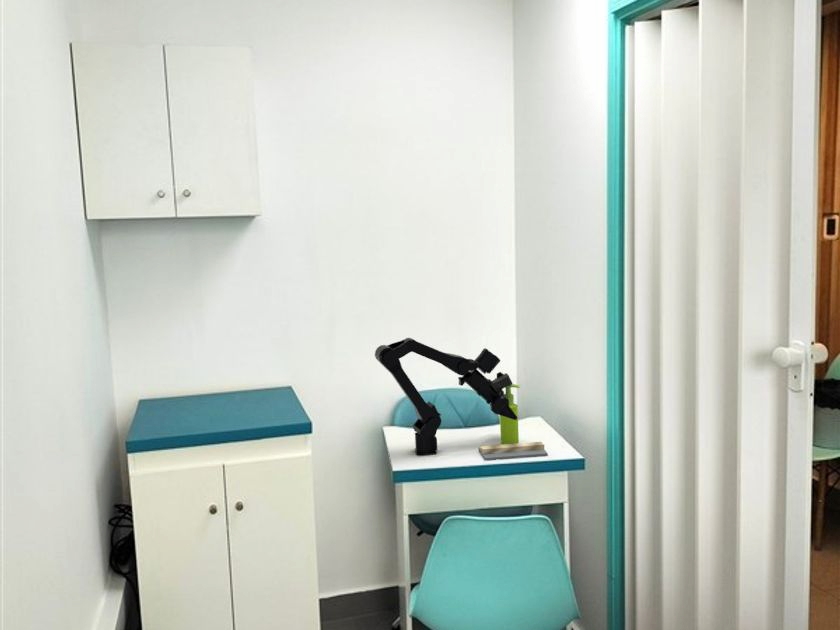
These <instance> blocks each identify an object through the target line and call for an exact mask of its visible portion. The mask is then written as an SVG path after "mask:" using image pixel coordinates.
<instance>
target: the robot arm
mask: <svg viewBox="0 0 840 630" xmlns="http://www.w3.org/2000/svg"><path fill="white" fill-rule="evenodd" d="M409 353H414V354H417V355H420V356H422V357H424V358H427V359H429V360H431V361H434V362H437V363H439V364H441V365H443V366H444V367H445V368H447V369H448V370H450V371H451V372H453V373H455V374H457V375H459V377H458V378H457V379H458V385H460V387H461V386H464V385H465V384H467V386H469V388H471V389H472V390H473V391H474V392H475V393H476V395H478V396H479V397H481V398H482V399H483V400H484V401H485V402H486V404H487V405H489V409H490V411H491V412H493V414H495V415H498V416H500V415H501V416H505V417H508V418H511V419H514V420H516V419H517V418H518V419H519V416H518V417H517V416H516V415H515V413H514V412H513V411H512V409H511V408H510V407H509V400H508V398H507V397H506V396H505V395H504V394H505V392H504V390H503V389H506V388H505V387H507V386H510V385H512V384H514V383H513V382H512V379H511V377H510V375H509V374H508V373H506V372H505V373H503V372H502V371H499V372H497V373H496V377H495V378H494V379H493V380H491V379H490V378H487V377H486V376H485V375H486V374H491V373H492V372H493V371H494V370H495V368H496V367H497V366H498V365H499V363H500V362H501V359H500V358H499V357H498V356H497V355H495V354H494V353H493V352H491V351H490V350H489V349H488V348H485V347H484V348H483V349H482V350H481V352H480V353H479V354H478V355H477V356H476V358H475V359H471V358H466V357H465V356H464V357H463V356H461V355H458V354H454V353H447V352H443V351H442V350H441V351H440V350H439V349H436V348H434V347H431V346H429V345H426V344H424V343H422V342H419V341H417V340H415V339H414V338H412V337H406V338H405V339H402V340H399V341H396V342H393V343H389V344H387V345H386V344H382V345H379V346H378V347H377V348H376V349H375V352H374V357H375V359H376V360H377V361H378V362H379V363H380V365H381V366H383V368H384V369H385V370H387V372H388V373H390V374H391V376H392V377H393V379H394V380H395V381H396V383H397V384H398V386H399V387H400V389H401V390H402V392H403V393H404V395H405V396H406V397H407V398H408V400H409V402H410V403H411V405H412V406H413V408H414V411H415V414H416V416H417V417H416V418H417V420H416V421H415V422H414V423H413V424H412V428H413V430H414V444H415V448H414V451H415V455H417V456H423V455H437V453H438V452H437V451H438V438H437V436H436V434H437V432H438V429H439V428H440V426H441V424H442V418H441V416H442V414H441V413H440V412H439V411H438V409H437V408H436V405H435V404H433V403H432V402H431V401H428V402H426V401H425V400H424V398H423V397H422V395H421V394H420V392H419V390H417V388H416V386H415V385H414V383H413V382H412V380H411V379H410V377H409V376H408V375H407V373H406V372H405V370H404V369H403V366H402V363H401V361H400V359H401V358H404V357H405V356H407V355H408V354H409ZM482 373H483V374H482Z"/></svg>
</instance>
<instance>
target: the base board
mask: <svg viewBox="0 0 840 630" xmlns="http://www.w3.org/2000/svg"><path fill="white" fill-rule="evenodd" d="M477 449H478V450H479V451H478V452H479V453H481V451H480V447H478V448H477ZM480 455H481V457H482V458H483V461H485V460H487V461H496V459H500V460H510V459H523V458H524V459H525V458H526V459H527V458H537V457H538V458H539V457H548V455H549V454H548V452H547V451H546V450H545V449H544V450H536V451H523V452H510V453H497V454H484V455H483V454H482V453H481V454H480Z"/></svg>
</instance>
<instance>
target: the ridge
mask: <svg viewBox="0 0 840 630" xmlns="http://www.w3.org/2000/svg"><path fill="white" fill-rule="evenodd" d="M479 448H480V451H481V453H482V454H483V455H484V454H497V453H510V452H523V451H536V450H545V444H544V442H542V441H532V442H519V443H516V444H503V445H501V444H495V445H494V444H493V445H492V444H491V445H480V447H479Z"/></svg>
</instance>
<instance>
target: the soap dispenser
mask: <svg viewBox="0 0 840 630" xmlns="http://www.w3.org/2000/svg"><path fill="white" fill-rule="evenodd" d="M512 388H517V389H520V388H521V385H520V384H514V383H513V384H512V385H510V386H507V387H505V388H504V389H505V393H504V395H505V396H506V397H507V398H508V400H509V407H510V408H511V409H512V411H513V412H514V413H515V415H516V416H517V417H518V418H517V419H516V420H514V419H511V418H508V417H505V416H501V415H499V419H500V420H499V425H500V445H503V444H516V443H520V441H519V440H520V439H519V408H518V404H516V403H514V402H515V401H514V394H513V393H512V390H511V389H512Z"/></svg>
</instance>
